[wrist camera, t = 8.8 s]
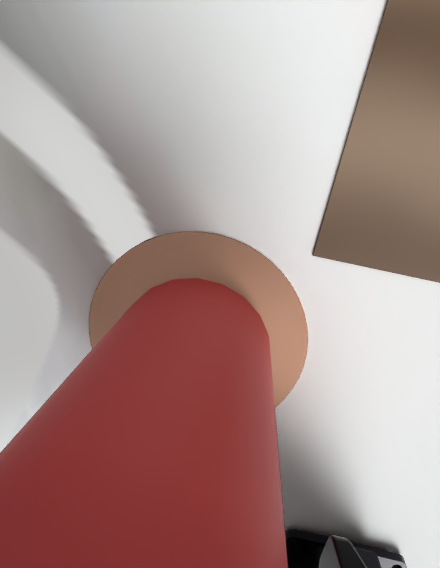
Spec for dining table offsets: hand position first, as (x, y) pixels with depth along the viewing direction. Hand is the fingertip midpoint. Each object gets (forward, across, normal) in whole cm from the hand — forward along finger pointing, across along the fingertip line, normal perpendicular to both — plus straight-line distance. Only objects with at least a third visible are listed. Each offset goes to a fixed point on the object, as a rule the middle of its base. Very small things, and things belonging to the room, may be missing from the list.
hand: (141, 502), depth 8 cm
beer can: (+8, 0, 0) cm, 8 cm away
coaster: (+8, 0, 0) cm, 8 cm away
